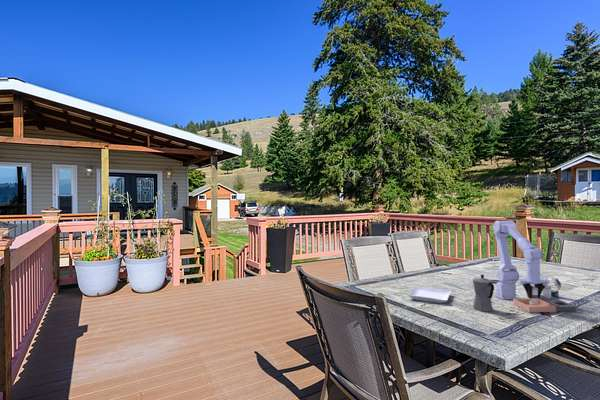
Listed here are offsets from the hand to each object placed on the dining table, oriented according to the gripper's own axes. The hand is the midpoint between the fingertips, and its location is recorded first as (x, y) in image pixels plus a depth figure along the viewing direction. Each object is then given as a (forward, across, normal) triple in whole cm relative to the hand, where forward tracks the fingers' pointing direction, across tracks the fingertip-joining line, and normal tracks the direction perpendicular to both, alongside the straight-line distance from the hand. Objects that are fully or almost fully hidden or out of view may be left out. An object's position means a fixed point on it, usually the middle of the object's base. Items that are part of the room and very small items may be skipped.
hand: (533, 297), depth 178 cm
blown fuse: (+3, 0, 0) cm, 3 cm away
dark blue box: (+6, +23, +19) cm, 30 cm away
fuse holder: (+5, +13, +4) cm, 15 cm away
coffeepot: (+6, -26, -1) cm, 27 cm away
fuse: (+5, +13, +9) cm, 17 cm away
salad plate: (+6, -46, +21) cm, 51 cm away
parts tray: (+5, 0, 0) cm, 5 cm away
